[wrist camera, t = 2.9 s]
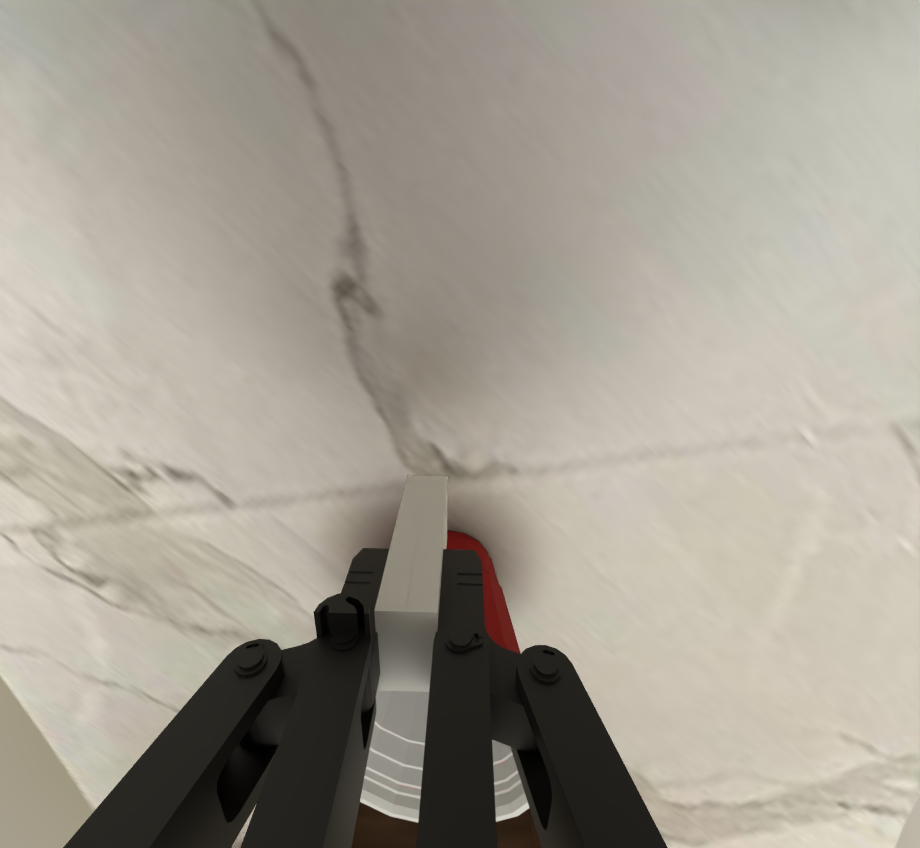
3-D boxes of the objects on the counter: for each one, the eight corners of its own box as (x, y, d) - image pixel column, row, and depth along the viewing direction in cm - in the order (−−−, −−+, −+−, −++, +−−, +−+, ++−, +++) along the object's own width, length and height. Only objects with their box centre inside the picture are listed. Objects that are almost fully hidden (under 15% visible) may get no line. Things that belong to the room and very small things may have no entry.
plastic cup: (353, 494, 28) (276, 671, 17) (531, 494, 27) (572, 674, 16) (369, 626, 32) (316, 835, 21) (523, 627, 32) (551, 840, 21)
